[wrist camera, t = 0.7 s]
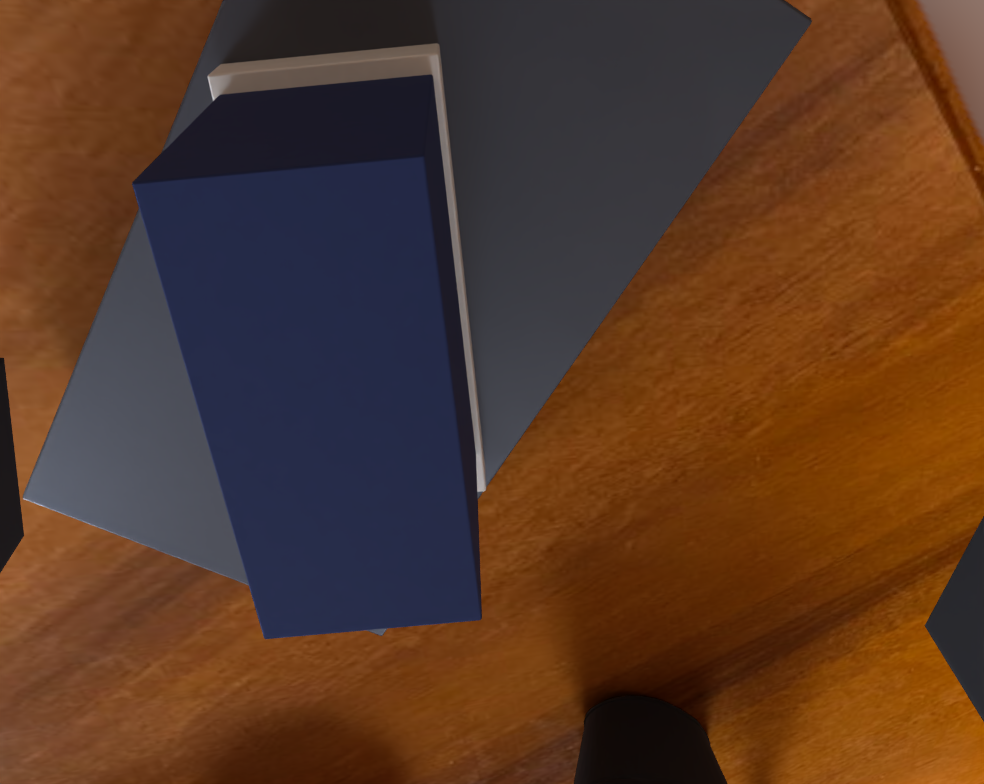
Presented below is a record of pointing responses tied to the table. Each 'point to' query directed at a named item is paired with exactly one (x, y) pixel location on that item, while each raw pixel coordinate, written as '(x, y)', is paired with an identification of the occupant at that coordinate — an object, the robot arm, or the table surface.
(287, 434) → the navy block on base
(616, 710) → the high-heeled shoe
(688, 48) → the shoe shelf
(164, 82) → the table surface
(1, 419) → the robot arm
